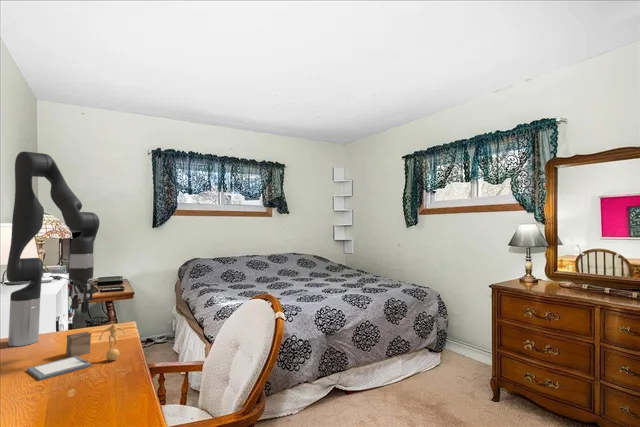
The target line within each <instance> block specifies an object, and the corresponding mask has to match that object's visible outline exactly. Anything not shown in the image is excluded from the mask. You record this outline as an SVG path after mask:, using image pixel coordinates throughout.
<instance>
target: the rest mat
mask: <svg viewBox="0 0 640 427" xmlns="http://www.w3.org/2000/svg"><path fill="white" fill-rule="evenodd" d="M89 367H93V366H92V363H91V362H89V361H87V360H86V359H84V358H83V357H80V356H73V357H69V356H68V357H66V358H61V359H57V360H54V361H50V362H46V363H42V364H38V365H33V366H30V367H27V368H26V371H27V372H28V373H29V374H31V375H32V376H34V378H36V379H37V380H39V381H43V380H47V379H51V378H55V377H58V376H61V375H64V374H67V373H71V372H75V371H78V370H83V369H86V368H89Z"/></svg>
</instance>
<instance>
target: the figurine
mask: <svg viewBox="0 0 640 427" xmlns="http://www.w3.org/2000/svg"><path fill="white" fill-rule="evenodd" d="M117 330H121V331H122V333H123V334H124V336H125V338H127V334H126V332H125V330H124V328H122V327H119V326H117V325H115V324H112V325H110V326H109V327H107V328H105V329H104V330H103V331H102V332H101V335H99V338H98V341H101V340H102V337H103V334H104V333H105V332H108V331H109V333H110V334H109V335H108V343H109V349H108V351H107V352H106V354H105V357H106V359H107V360H108V361H116V360H117V359H118V358H119V357H120V351H119V349H118V348H117V347H116V346H117V345H116V344H117V342H118V334H116V332H117ZM113 340H114V346H113V348H112V341H113Z"/></svg>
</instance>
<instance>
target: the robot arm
mask: <svg viewBox="0 0 640 427" xmlns="http://www.w3.org/2000/svg"><path fill="white" fill-rule="evenodd" d="M14 162H15V163H14V203H13V211H12V221H11V238H10V247H9V252H8V253H9V254H8V259H7V266H6V274H5V276H6V279H7V281H8V282H9V283H23V282H24V283H25V282H26V283H27V282H29V283H28V284H27V285H26V286H24V287H23V288H20V289H18V290H17V289H16V290H15V291H14V290H13V291H12V292H11V293H10V300H9V317H8V318H9V321H8V337H7V338H8V340H7V341H8V342H7V343H8V344H7V345H8V346H10V347H22V346H27V345H32V344H35V343H37V342H38V341H39V337H40V334H39V333H40V332H39V331H40V313H41V292H42V280H43V273H44V272H43V270H44V264H43V260H42V258H40V257H28V258H27V257H25V258H24V257H23V258H21V256H22V254H23V251H24V250H25V248H26V246H28V244H29V243H30V242H31V241H32V240H33V239H34V238H35V237H36V235H38V234H39V232H40V231H41V229H42V228H43V224H44V214H45V213H44V212H45V210H44V207H43V206H42V204H41V202H40V200H39V199H38V197H37V195H36V194H35V192H34V189H33V188H34V187H33V178H34V177H35V178H37V177H39V178H45V179H46V180H47V181H48V182H49V184H50V192H49V194H50V195H49V196H50V198H51V200H52V202H53V203H54V205H56V207H57V209H59V211H60V212H61V215H62V218H63V221H64V224H65V226H66V227H68V229H70V230H71V231H75V232H80V235H79V236H78V237H73V238H72V239H71V241H70V251H69V252H70V253H69V254H70V256H69V261H68V280H69V286H68V297H69V298H70V299H71V305H70V306H71V307H70V308H71V310H78V309H79V308H80V313H82V314H86V313H88V312H89V311H90V310H89V309H90V307H89V306H90V301H93V289H94V288H93V287H94V286H93V283H92V282H91V283H89V280H92V279H94V265H95V263H94V262H95V261H94V258H95V257H94V245H95V244H94V243H95V240H96V237H97V234H98V230H99V228H100V217H99V216H98V215H97V214H96V213H95V212H89V211H81V210H82V207H83V203H82V202H81V200H80V199H79V198H78V197H77V195H76V194H75V193H74V192H73V191H72V189H71V188H70V187H69V185H68V183H67V182H66V180H65V178H64V176H63V174H62V172H61V170H60V168H59V167H58V165H57V163H56V161H55V160H54V159H53V158H52V156H51V155H50V154H47V153H42V152H33V151H32V152H31V151H20V152H19V153H18V154H17V155H16V157H15V161H14ZM79 306H80V307H79Z"/></svg>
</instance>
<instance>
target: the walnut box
mask: <svg viewBox="0 0 640 427" xmlns="http://www.w3.org/2000/svg"><path fill="white" fill-rule="evenodd" d="M91 337H92V333H91V332H88V331H87V330H86V331H80V332H76V333H72V334H67V335H66V349H65V350H66V353H65V355H66V356H67V357H68V358H69V357H73V356H78V357H80V356H84V355H88V354H90V353H91V345H92V344H91V342H92V341H91V340H92V339H91Z"/></svg>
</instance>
